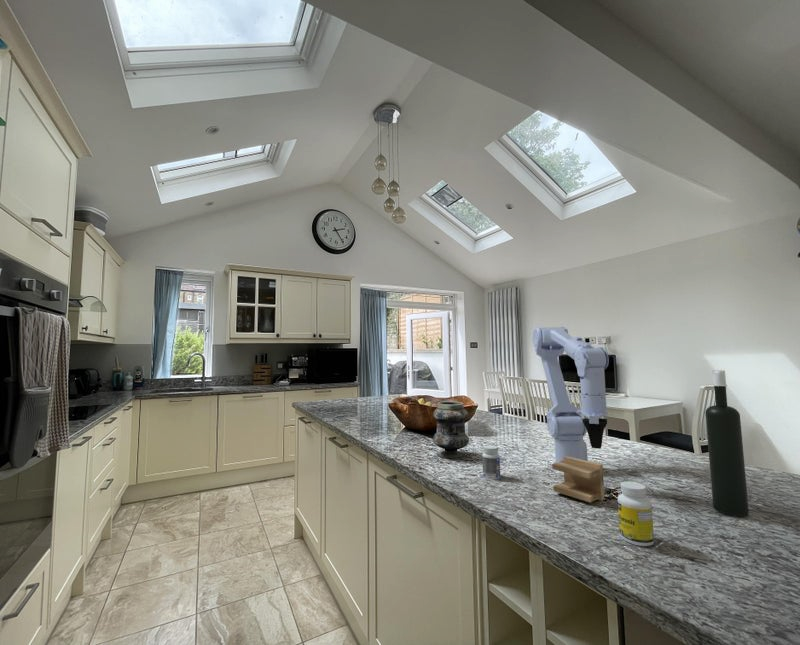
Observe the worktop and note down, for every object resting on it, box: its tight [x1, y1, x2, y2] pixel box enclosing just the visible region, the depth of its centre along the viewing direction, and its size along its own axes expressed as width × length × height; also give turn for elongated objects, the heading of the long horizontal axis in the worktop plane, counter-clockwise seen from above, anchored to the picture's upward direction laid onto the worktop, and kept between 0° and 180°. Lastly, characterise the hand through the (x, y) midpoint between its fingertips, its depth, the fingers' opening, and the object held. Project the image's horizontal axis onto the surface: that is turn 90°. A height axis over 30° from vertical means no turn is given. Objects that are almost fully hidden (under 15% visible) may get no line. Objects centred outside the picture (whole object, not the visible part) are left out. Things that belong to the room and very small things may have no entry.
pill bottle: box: [481, 444, 501, 481], centre depth 104 cm, size 5×5×8 cm
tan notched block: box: [551, 456, 605, 503], centre depth 89 cm, size 8×9×6 cm
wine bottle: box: [704, 369, 750, 517], centre depth 81 cm, size 6×6×30 cm
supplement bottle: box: [617, 481, 655, 547], centre depth 69 cm, size 5×5×10 cm
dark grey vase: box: [432, 400, 470, 461], centre depth 125 cm, size 12×12×18 cm
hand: (596, 447), depth 95 cm, fingers closed
